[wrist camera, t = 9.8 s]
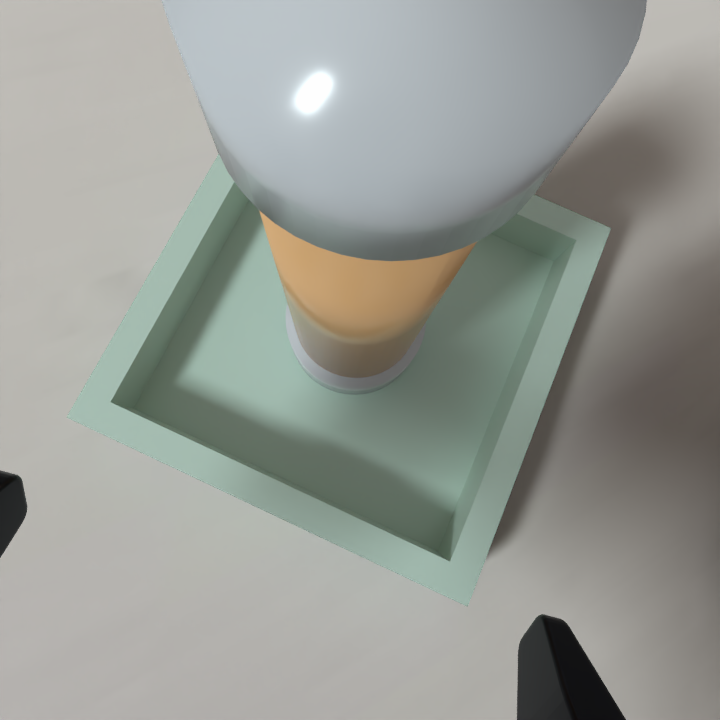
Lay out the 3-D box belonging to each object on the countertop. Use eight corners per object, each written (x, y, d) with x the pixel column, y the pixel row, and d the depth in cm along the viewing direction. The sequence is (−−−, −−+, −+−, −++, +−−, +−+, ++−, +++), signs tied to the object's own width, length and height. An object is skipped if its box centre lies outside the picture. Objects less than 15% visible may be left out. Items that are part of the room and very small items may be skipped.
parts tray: (446, 584, 19) (467, 606, 16) (106, 424, 20) (66, 417, 17) (574, 259, 22) (611, 228, 19) (273, 127, 22) (263, 76, 20)
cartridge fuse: (432, 375, 20) (723, 111, 5) (308, 409, 19) (217, 229, 4) (397, 259, 20) (552, -265, 6) (277, 288, 20) (112, -199, 5)
